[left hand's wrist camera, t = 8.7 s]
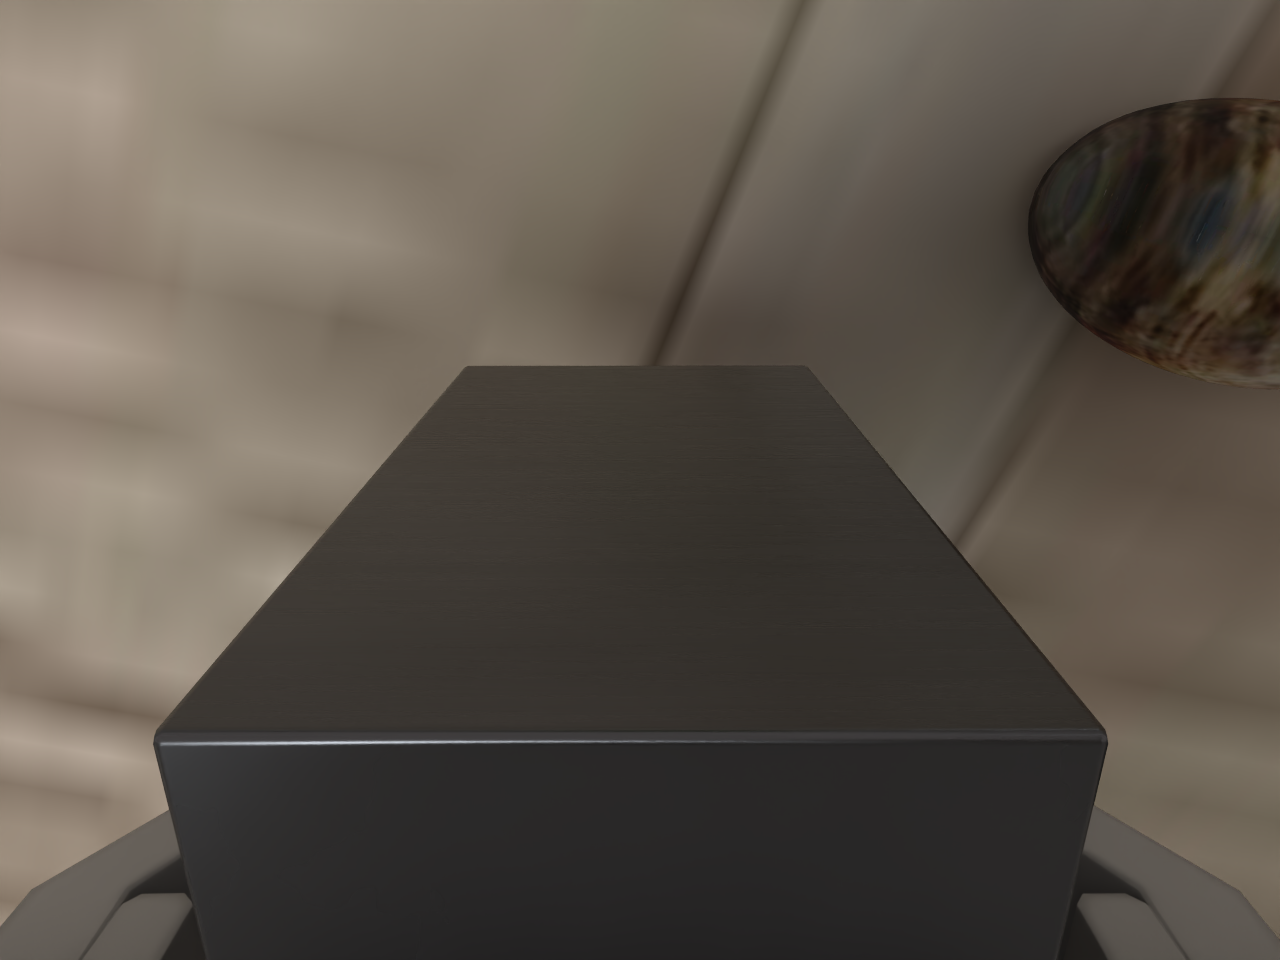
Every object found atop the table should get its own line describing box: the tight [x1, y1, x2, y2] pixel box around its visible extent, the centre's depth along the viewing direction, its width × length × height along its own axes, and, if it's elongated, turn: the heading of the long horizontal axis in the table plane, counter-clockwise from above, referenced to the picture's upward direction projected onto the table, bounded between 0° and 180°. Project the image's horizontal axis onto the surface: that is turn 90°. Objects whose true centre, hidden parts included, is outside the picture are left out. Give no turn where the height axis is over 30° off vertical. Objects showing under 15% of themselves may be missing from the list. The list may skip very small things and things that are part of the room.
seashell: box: [1028, 98, 1280, 389], centre depth 18 cm, size 10×6×8 cm, turn 74°
